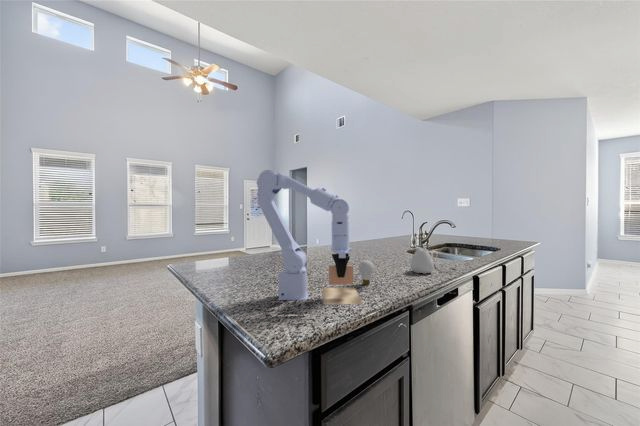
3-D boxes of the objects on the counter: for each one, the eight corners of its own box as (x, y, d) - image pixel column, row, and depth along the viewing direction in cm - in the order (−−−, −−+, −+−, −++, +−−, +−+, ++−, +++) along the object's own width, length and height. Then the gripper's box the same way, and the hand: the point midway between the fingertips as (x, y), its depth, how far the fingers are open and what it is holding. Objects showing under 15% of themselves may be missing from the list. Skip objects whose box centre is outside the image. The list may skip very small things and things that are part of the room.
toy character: (433, 270, 129) (433, 245, 129) (434, 275, 120) (433, 248, 120) (411, 269, 133) (410, 245, 133) (409, 273, 124) (409, 247, 123)
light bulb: (374, 288, 101) (373, 261, 101) (358, 287, 102) (357, 261, 102) (374, 284, 107) (373, 259, 107) (359, 283, 108) (358, 258, 108)
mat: (323, 306, 82) (323, 304, 82) (322, 289, 100) (322, 287, 100) (362, 306, 82) (362, 304, 82) (354, 289, 100) (354, 287, 100)
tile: (328, 284, 88) (328, 266, 88) (328, 283, 90) (328, 265, 90) (353, 284, 88) (353, 266, 88) (352, 282, 90) (352, 264, 90)
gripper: (355, 237, 82) (355, 281, 82) (349, 233, 97) (350, 271, 97) (332, 237, 82) (332, 282, 82) (330, 233, 97) (330, 271, 97)
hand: (340, 276), depth 89 cm, fingers closed on tile, 2 cm apart
